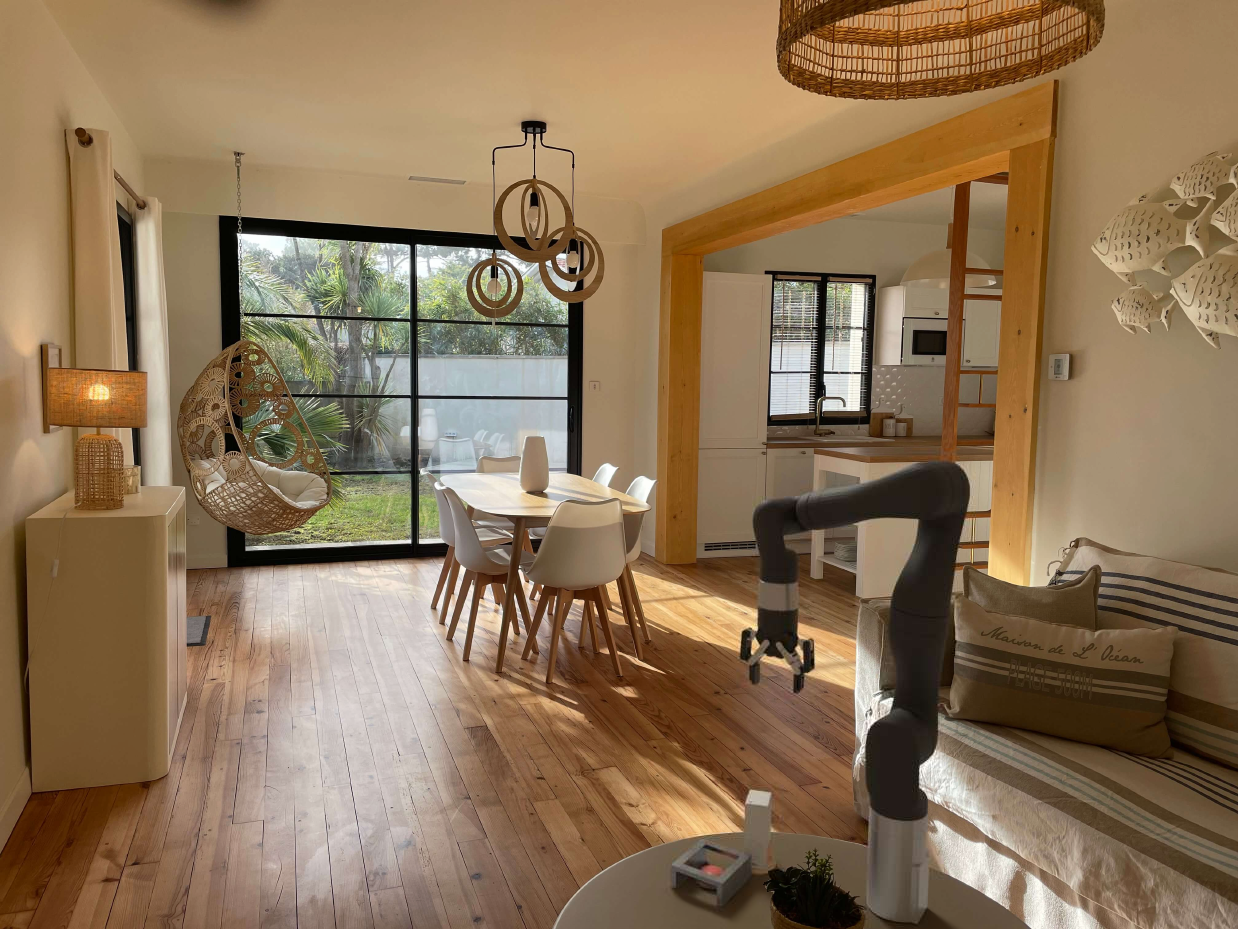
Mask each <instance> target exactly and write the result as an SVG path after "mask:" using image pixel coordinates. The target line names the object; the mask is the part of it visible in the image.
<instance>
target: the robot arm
mask: <svg viewBox="0 0 1238 929" xmlns="http://www.w3.org/2000/svg"><path fill="white" fill-rule="evenodd" d="M970 497H971V485H970V481H969V478H968V475H967V473H966V472H965V470H964V469H963V468H962V467H961V466H960V465H958V464H957V463H955V462H953V461H948V460H937V461H935V460H933V461H922V462H915V463H912V464H910V465H908V466H905V467H903V468H902V469H899V470H897V471H893V472H891V473H889V474H886V475H884V476H882V477H879V478H876V479H872V480H869V481H866V482H861V483H855V484H847V485H840V486H834V487H829V488H828V487H827V488H823V489H818V490H813V491H810V492H807V493H805V494H802V495H795V496H788V497H779V498H769V499H765V500H762V501H760V502H759V503H758V504H757V505H756V507H755V508H754V511H753V515H752V528H753V534H754V537H755V542H756V547H757V550H758V555H759V559H760V561H759V583H758V588H757V590H758V591H757V597H756V598H757V599H756V600H757V617H756V618H757V630H754V629H753V628H752V627H747V628H744V629H743V630H742V631H741V636H740V637H741V638H740V649H739V659H740V660H741V661H744V662H746V663H747V664H748V666H749V667H748V668H749V669H748V674H749V676H748V678H749V682H751V685H754V686H756V685H758V684H759V683H760V682H761V680H760V679H761V678H760V677H761V676H760V675H761V672H760V671H761V663H759V662H760V660H761V659H762V658H764V656H765V655H766V657H769V658H770V657H771V658H776V659H779V660H783V659H784V660H785V661H786V663H787V665H789V666H790V668H791V669H792V671H793V672H794V673H793V682H792V683H793V685H792V687H793V688H792V693H793V694H795V695H796V694H797V695H798V694H800V693H801V691H803V690H804V688H805V674H809V673H811V672H812V671H814V670H815V667H816V661H815V658H816V657H815V639H813V638H811V637H809V638H808V639H807V638H806V639H803V638H800V637H799V636H798V628H799V601H800V600H799V596H800V592H799V585H798V584H799V557H798V554H797V552H796V551H795V550H794V549H791V548H790V547H789V548H788V547H787V546H786V543H785V540H784V536H791V535H796V534H800V533H801V534H802V533H806V532H811V531H821V530H822V531H823V530H829V529H830V530H831V529H834V528H841V527H847V526H850V525H854V524H857V523H861V522H865V521H869V520H876V519H905V520H906V519H908V520H917V522H918V523H917V528H916V537H915V540H914V541H915V542H914V545H913V548H912V550H911V552H910V555H909V557H908V559H907V561H906V563H905V565H904V566H903V568H902V570H901V572H900V573H899V576H898V579H897V581H896V582H895V585H894V588H893V591H892V594H891V599H890V605H889V615H888V623H887V638H888V644H889V649H890V652H891V656H892V659H893V663H894V667H895V685H894V693H893V697H892V704H891V707H890V711H889V713H887V714H886V715H884V716H883V717H880V718H879V719H878V720H875V721H874V722H873V723H872V724H871V725H870V727H869V728H868V731H867V734H866V737H865V738H866V739H865V747H864V749H865V751H864V752H865V754H864V755H865V758H864V760H865V761H864V766H865V767H864V770H865V771H864V772H865V787H866V790H867V793H868V796H869V808H868V810H869V811H868V813H869V814H868V835H867V836H868V838H867V863H866V864H867V865H866V867H867V868H866V889H865V890H866V891H865V892H866V894H865V896H866V900H865V901H866V902H865V903H866V906H867V908H868V909H869V910H870V911H871V912H872V913H874V914H875V915H876V916H878V917H880V918H882V919H884V920H888V921H891V922H897V923H912V924H914V925H918V924H919V922H920V920H921V918H922V917H923V915H924V914H925V912H926V910H927V909H928V900H929V899H928V898H929V896H928V895H929V875H930V873H929V872H930V853H929V852H927V836H928V835H927V833H928V812H929V811H928V810H929V798H928V795H927V793H926V792H925V791H924V790H923V789H922V788H921V787H920V768H921V766H922V765H923V764H924V763H926V762H927V761H928V760H930V758H931V757H932V756H933V755H934V753H935V751H936V749H937V745H938V740H939V695H940V694H939V692H940V682H941V677H942V671H943V664H944V659H945V658H944V657H945V651H946V643H947V638H948V637H947V636H948V633H949V632H948V631H949V624H950V615H951V608H952V607H951V606H952V594H953V587H954V582H955V574H956V568H957V567H956V566H957V565H956V564H957V558H958V552H959V546H960V541H961V537H962V532H963V528H964V526H965V525H964V524H965V520H966V517H967V513H968V509H969V503H970ZM754 640H756V641H757V643H758V645H759V646H758V647H757V648H756V650H755V651H754V652H753V654H752V646H753V641H754ZM798 646H799V647H800V650H801V652H802V656H803V657H802V658H803V659H801V655H800V654H799V652H798V650H797V649H796V648H797V647H798ZM802 660H803V661H802Z"/></svg>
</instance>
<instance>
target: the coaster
mask: <svg viewBox="0 0 1238 929" xmlns="http://www.w3.org/2000/svg"><path fill="white" fill-rule="evenodd" d="M742 852H743V853H744V851H742ZM776 867H777V866H776V860H775V858H774V857H773V856H772V855H771V854H770V855H769V859H768V862H767V867H766V870H760V869H754V868H751V875H755V876H761V875H768V874H769V873H768V870H769V869H772V868H775V869H776Z"/></svg>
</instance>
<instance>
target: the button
mask: <svg viewBox="0 0 1238 929" xmlns="http://www.w3.org/2000/svg"><path fill="white" fill-rule="evenodd" d="M698 869H699V870H701V871H704V872H707V873H710V874H712V875H715V876H718V877H719V876H720V875H721V874H722V873H723V872H724V871H725V870H724V869H723V868H721V867H719V866H717V865H704V866H703V865H702V866H700V867H699V868H698ZM694 879H695V883H696V884H697V885H698V886H700V887H701V888H704V889H707V890H717V886H715V885H712V884H709V883H707V882H704V881H701V880H699V879H696V878H694Z"/></svg>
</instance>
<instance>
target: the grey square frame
mask: <svg viewBox="0 0 1238 929" xmlns="http://www.w3.org/2000/svg"><path fill="white" fill-rule="evenodd" d="M708 851H710V852H711V851H712V852H715V853H717V854H720V855H722V856H726V857H728V858H731V859H734V861H733V862H732V863H731V864H730V865H729V866H728V867H727V868H726V869H725V870H724V872H723V873H722V874H721V875H720V876H719V877H718V876H715V875H712V874H710V873H707V872H704V871H701V870H699V869H700V868H701V867H703V865H704V864H705V863H706V862H707V860H708V859H707V857H708V856H707V854H708ZM743 852H744V851H739V850H737V849H734V848H731V847H728V846H725V845H723V844H719V843H717V842H714V841H710V840H708V839H705V838H701V839H700V840H698V842H696V843H695V844H694V845H692V846H691V847H690V848H689V849H688V850H687V851H685V852H684V853H683V854H682V855H681V856H680V857H678V858H677V859H676V860H675V861H674V862H672V864H670V888H672V889H677V888H678V887H679V886H681V885H682V884H683V883H684V882H685V881H687V879H689V878H690V877H691V878H694V879H695V878H696V879H699V880H701V881H704V882H707V883H709V884H712V885H715V886H717V889H716V905H717V906H719V907H723V906H724V905H725V904H726V903H727V902H728V901H729V900H730V899H731V898H732V897H733V896H734V895H735V894H736V893H737V892H738V891H739V890H740V889H741V888H742V887H743V886H744V885H745V884H746V883H747V881H748V880H750V879H751V877H752V874H751V858H752V855H749V854H746V853H743Z"/></svg>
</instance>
